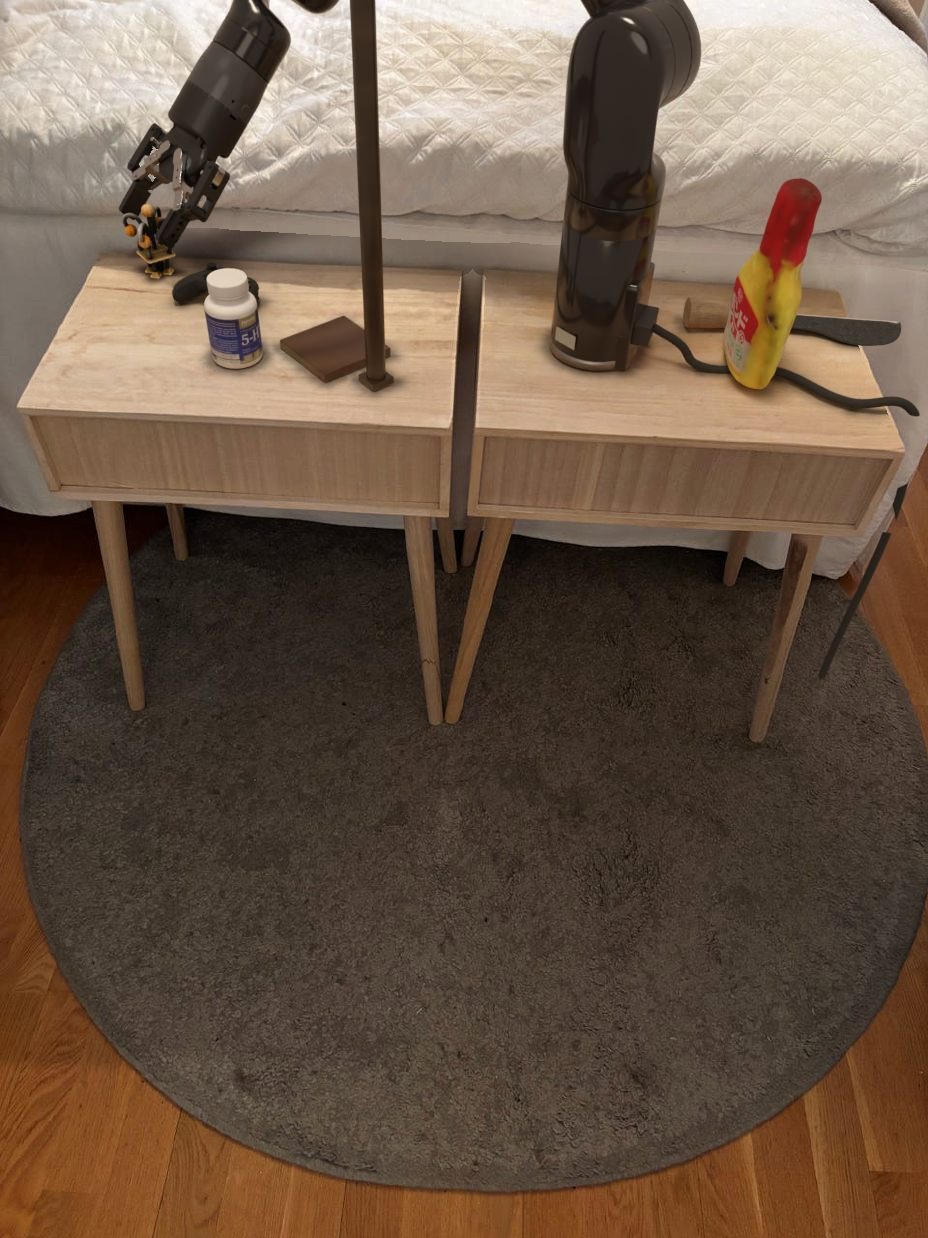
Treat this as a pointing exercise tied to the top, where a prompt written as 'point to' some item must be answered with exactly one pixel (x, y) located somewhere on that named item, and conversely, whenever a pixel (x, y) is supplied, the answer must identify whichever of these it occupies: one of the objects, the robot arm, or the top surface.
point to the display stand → (341, 339)
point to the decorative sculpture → (144, 242)
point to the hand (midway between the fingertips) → (144, 229)
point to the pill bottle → (232, 319)
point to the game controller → (202, 285)
